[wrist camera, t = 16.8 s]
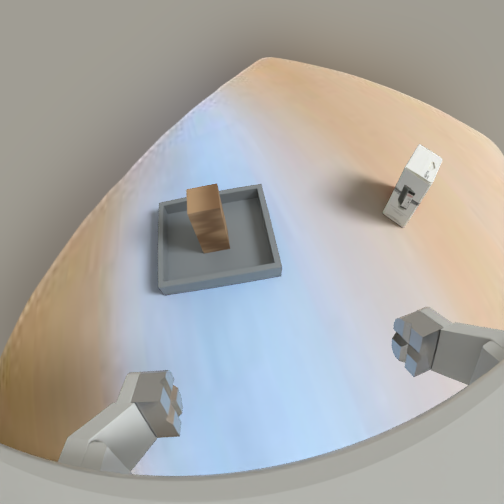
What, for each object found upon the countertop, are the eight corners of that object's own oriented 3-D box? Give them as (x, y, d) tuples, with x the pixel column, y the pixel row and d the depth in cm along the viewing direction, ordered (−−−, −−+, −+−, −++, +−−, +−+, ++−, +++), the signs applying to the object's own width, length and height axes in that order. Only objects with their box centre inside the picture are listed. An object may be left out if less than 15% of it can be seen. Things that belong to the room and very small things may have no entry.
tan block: (204, 253, 41) (187, 213, 32) (201, 231, 43) (186, 189, 34) (230, 248, 41) (220, 207, 32) (226, 226, 43) (216, 183, 34)
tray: (165, 295, 39) (158, 287, 36) (164, 213, 46) (159, 202, 43) (281, 276, 39) (281, 267, 37) (261, 195, 47) (261, 183, 44)
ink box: (398, 187, 47) (419, 141, 36) (418, 201, 45) (443, 157, 34) (380, 213, 44) (404, 165, 33) (403, 229, 42) (432, 184, 32)
